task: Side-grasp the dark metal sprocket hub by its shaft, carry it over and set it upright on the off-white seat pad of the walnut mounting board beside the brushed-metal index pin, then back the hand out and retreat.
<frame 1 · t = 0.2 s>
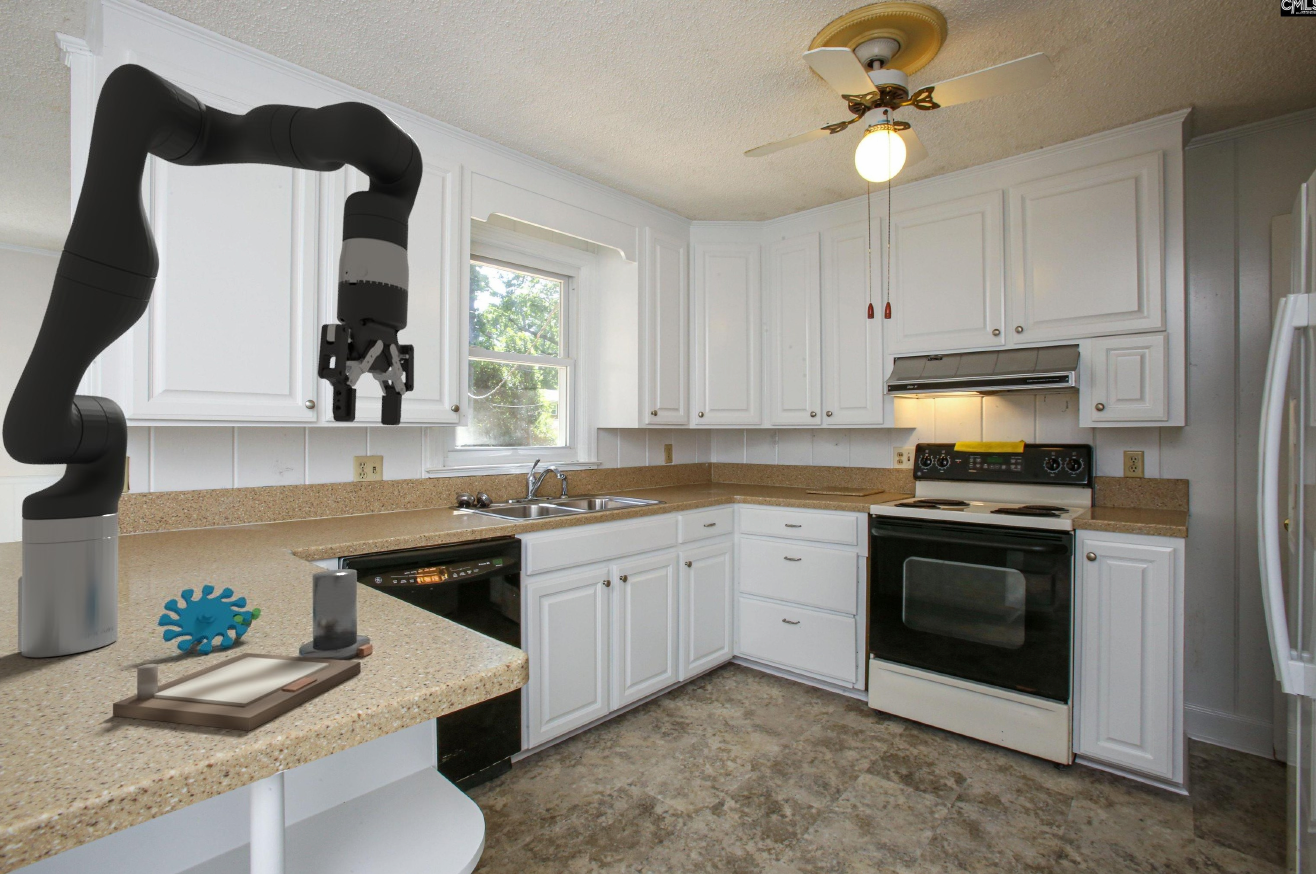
hand: (368, 423, 73), 29 cm above the table, tool pointing down, fingers open, 8 cm apart
sprocket hub: (335, 652, 79), on the table
mount board: (247, 692, 66), on the table
gear: (211, 647, 82), on the table
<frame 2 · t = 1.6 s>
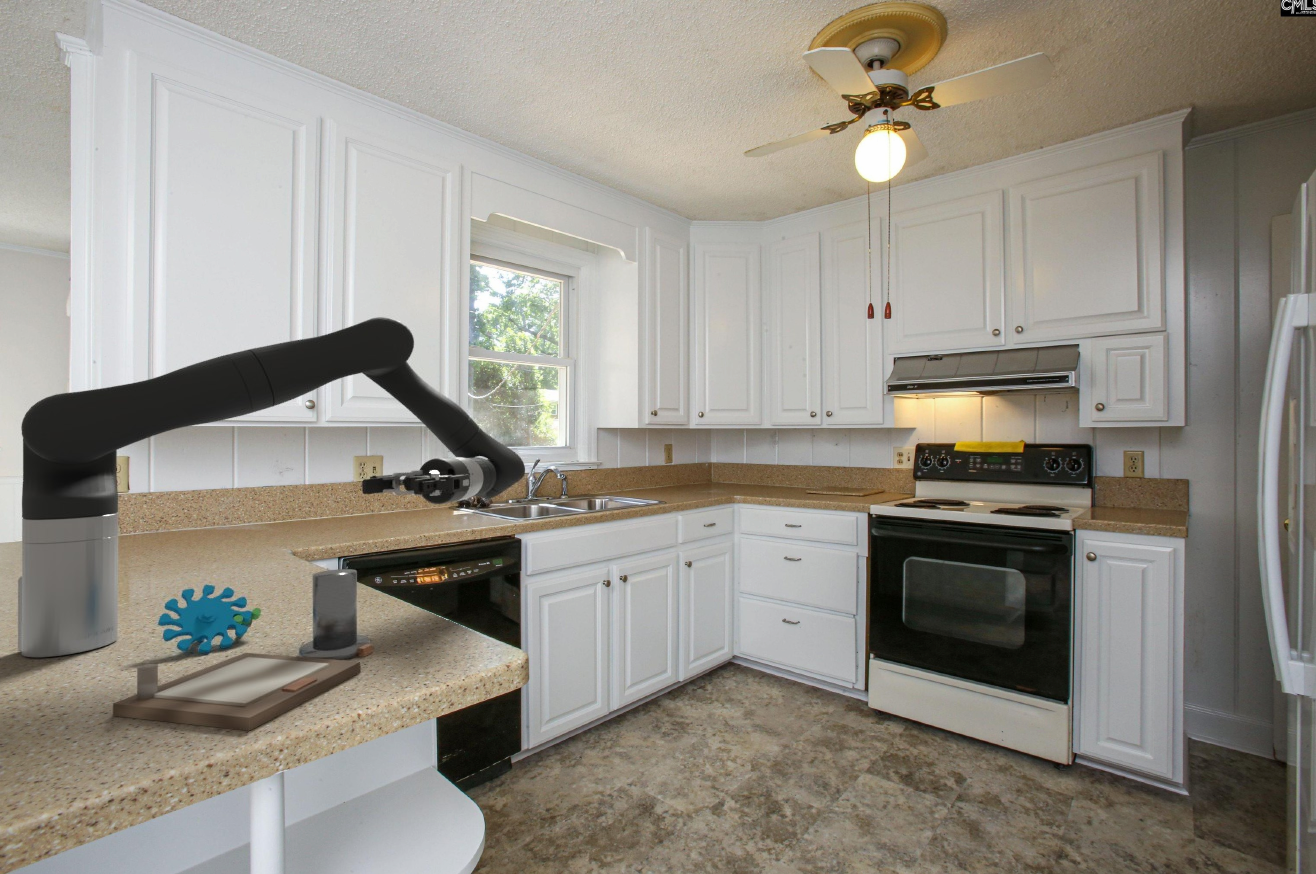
hand: (390, 487, 90), 20 cm above the table, tool horizontal, fingers open, 8 cm apart
nothing on the table moved.
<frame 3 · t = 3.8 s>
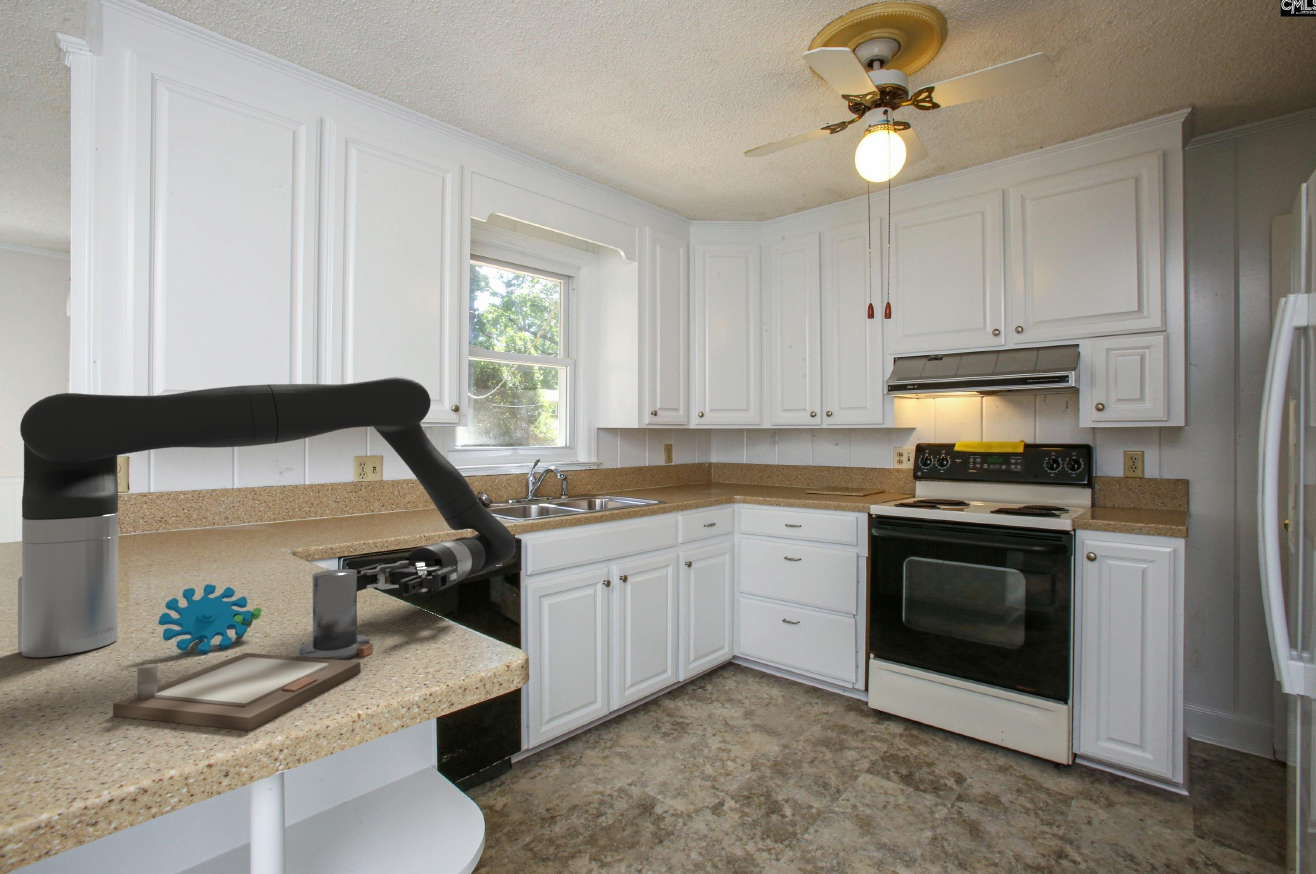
hand: (373, 587, 87), 6 cm above the table, tool horizontal, fingers open, 8 cm apart
nothing on the table moved.
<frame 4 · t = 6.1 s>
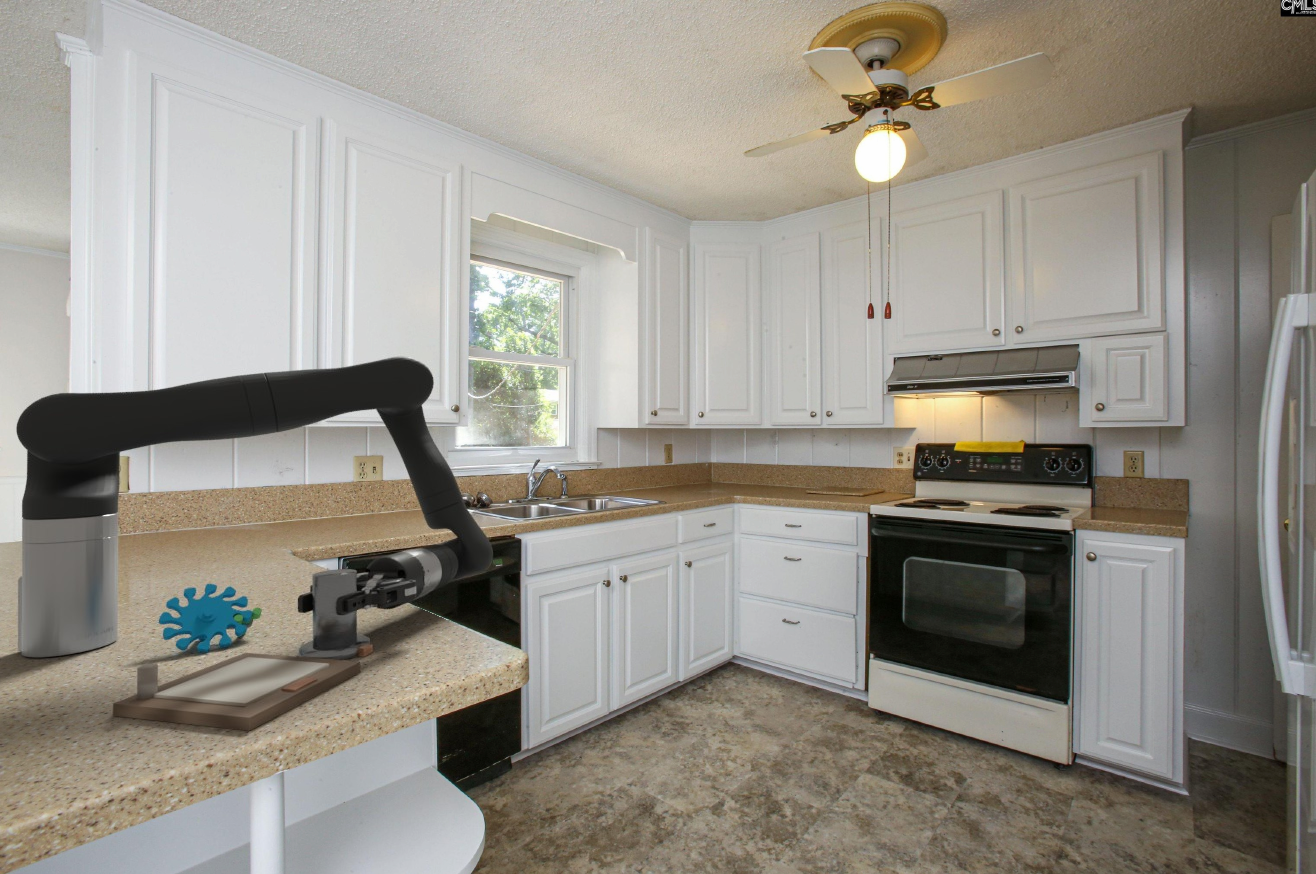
hand: (320, 605, 77), 7 cm above the table, tool horizontal, fingers closed on sprocket hub, 5 cm apart
sprocket hub: (335, 652, 79), on the table, touching gripper
everything else where it was.
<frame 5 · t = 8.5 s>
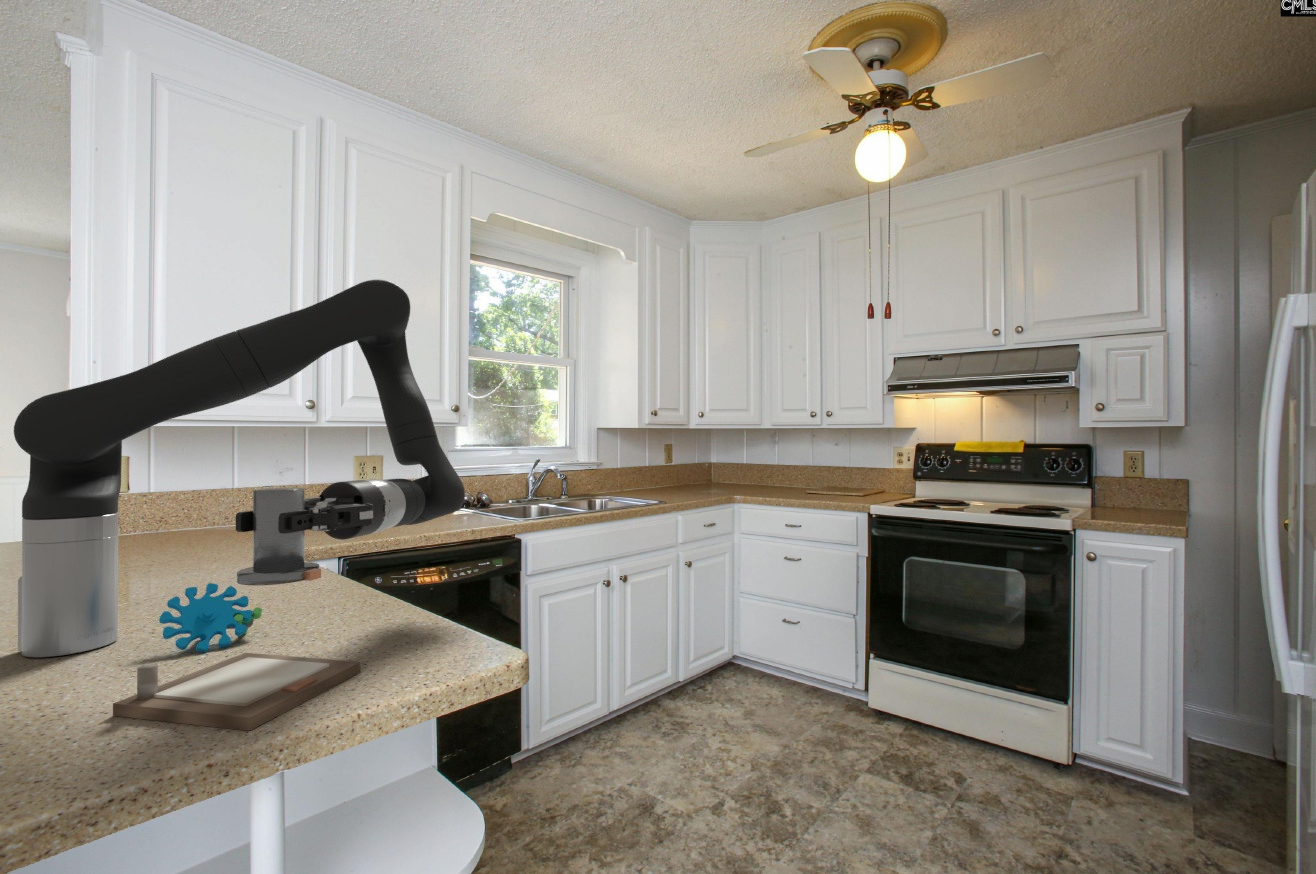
hand: (260, 523, 68), 18 cm above the table, tool horizontal, fingers closed on sprocket hub, 5 cm apart
sprocket hub: (279, 577, 71), point 11 cm above the table, touching gripper
everything else where it was.
when the fingers open (9 cm above the table, at t = 11.3 s): sprocket hub drops 1 cm, resting on mount board.
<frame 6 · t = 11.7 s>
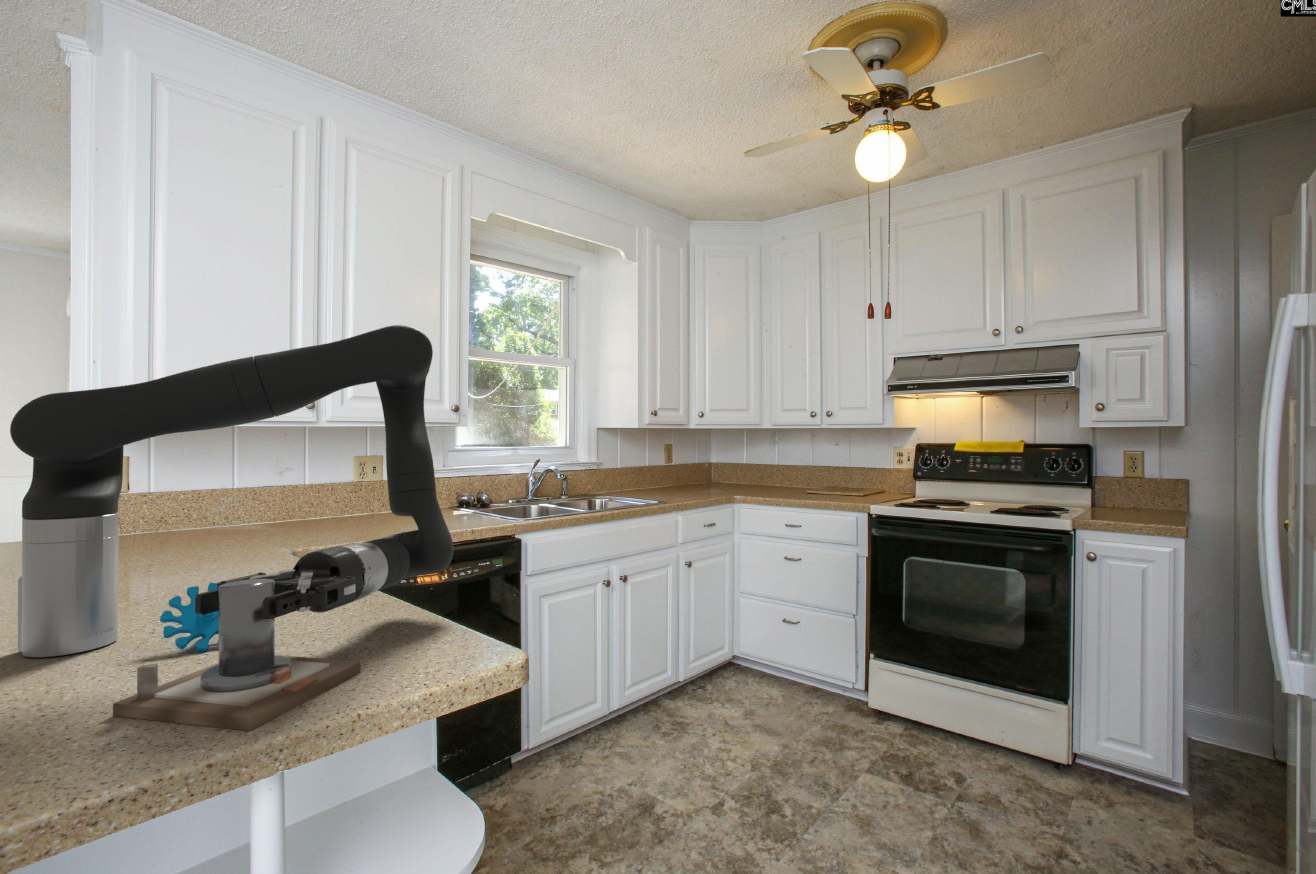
hand: (231, 607, 65), 10 cm above the table, tool horizontal, fingers open, 8 cm apart
sprocket hub: (247, 677, 66), point 1 cm above the table, touching mount board
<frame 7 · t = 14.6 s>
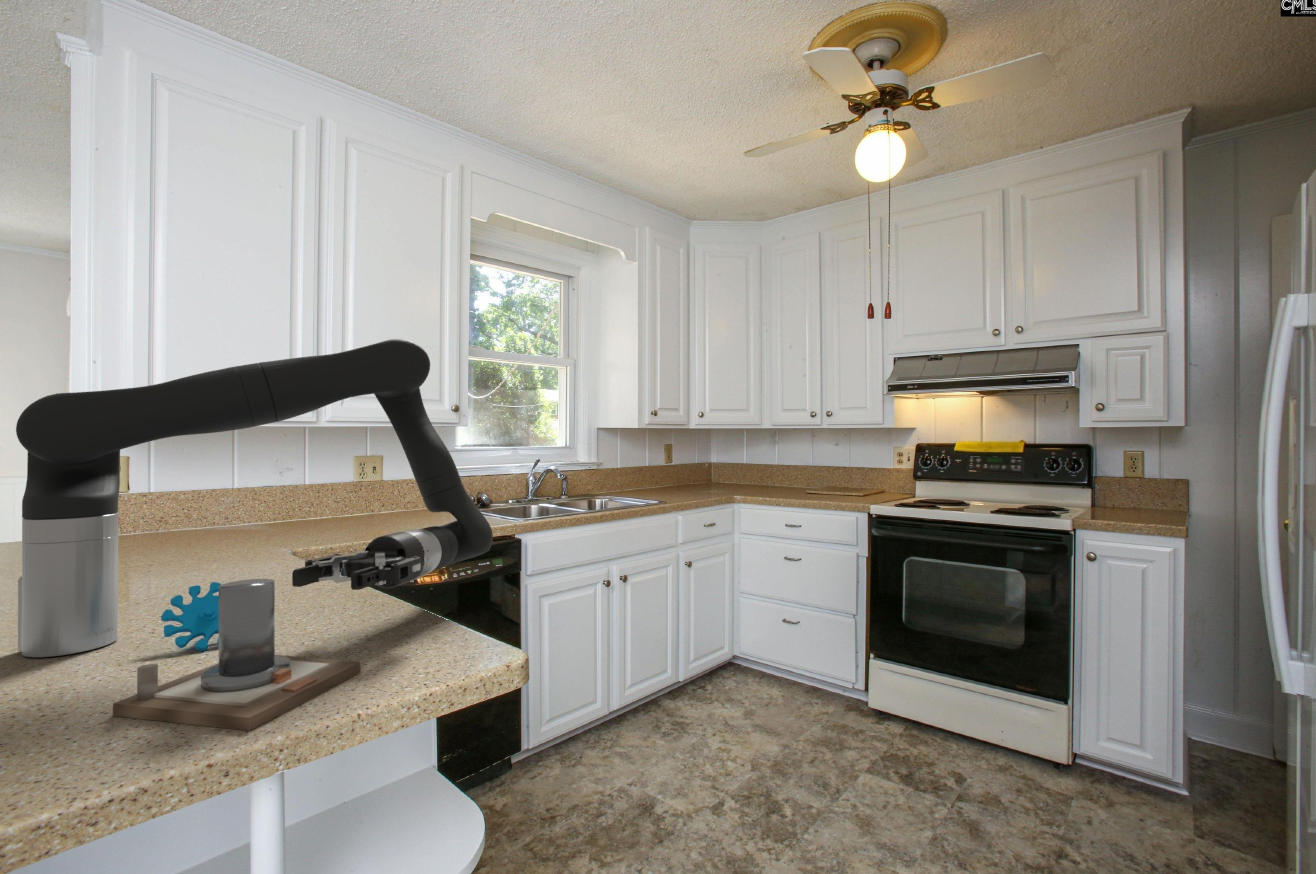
hand: (323, 580, 77), 10 cm above the table, tool horizontal, fingers open, 8 cm apart
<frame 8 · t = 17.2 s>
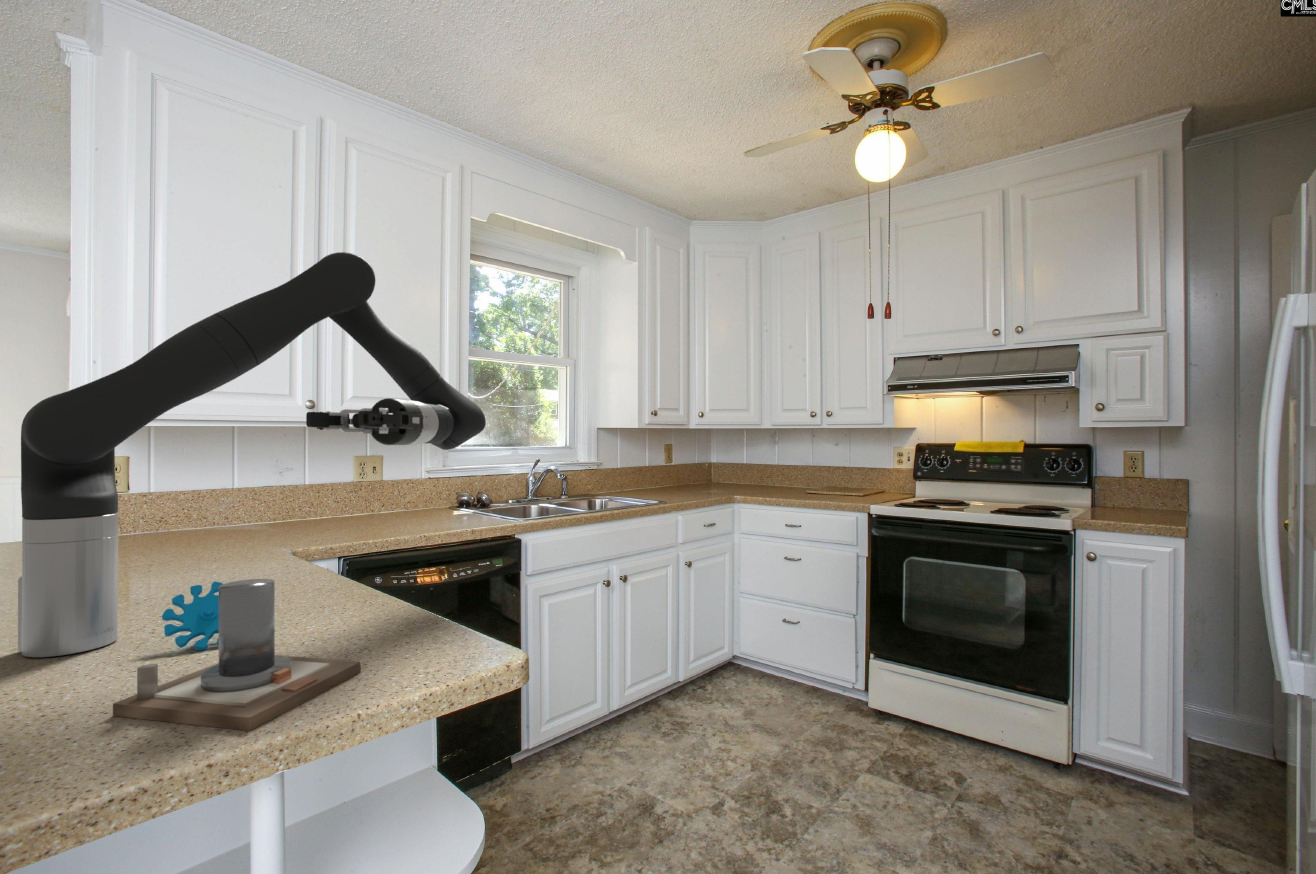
hand: (334, 418, 88), 30 cm above the table, tool horizontal, fingers open, 8 cm apart
at the end: sprocket hub inside the target area on the mount board (0.1 cm from its centre), point 1.5 cm above the mount board's base; sprocket hub tilted 0°; the gripper is holding nothing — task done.
